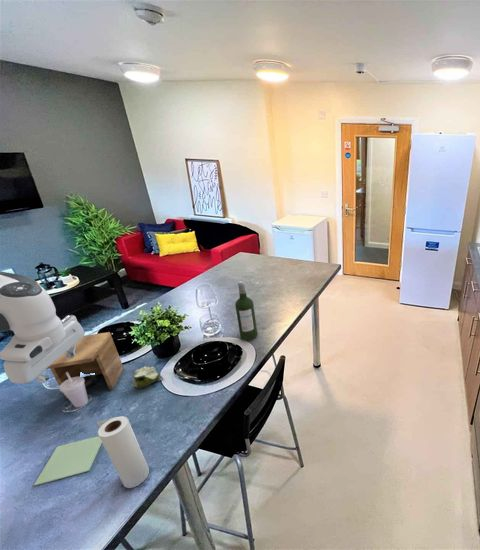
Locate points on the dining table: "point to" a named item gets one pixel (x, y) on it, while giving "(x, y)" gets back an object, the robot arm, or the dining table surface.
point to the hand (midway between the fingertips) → (58, 368)
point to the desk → (90, 360)
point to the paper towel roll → (123, 450)
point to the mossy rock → (145, 377)
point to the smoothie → (75, 390)
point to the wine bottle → (245, 314)
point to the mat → (70, 460)
